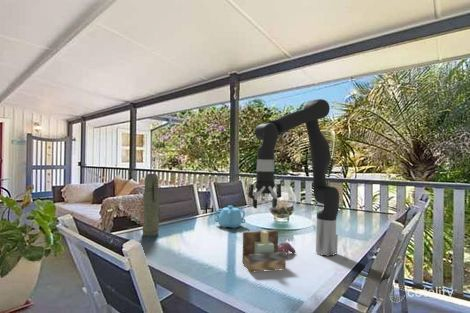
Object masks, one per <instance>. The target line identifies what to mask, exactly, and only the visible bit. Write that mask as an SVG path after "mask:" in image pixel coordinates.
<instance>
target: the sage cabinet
mask: <svg viewBox="0 0 470 313" xmlns="http://www.w3.org/2000/svg"><path fill="white" fill-rule="evenodd" d="M260 231H261V239H260V242H255V247H254V254H260V253H273V252H274V244H273V243H272V242H270V241H268V232H267V231H268V230H265V229H264V230H262V229H261V230H260Z"/></svg>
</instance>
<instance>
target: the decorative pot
mask: <svg viewBox="0 0 470 313" xmlns="http://www.w3.org/2000/svg"><path fill="white" fill-rule="evenodd" d="M218 211H220V212H219V214H218ZM241 212H242V214H243V215H242V214H241ZM215 215H216V218H214V221H215V222H217V223H218V224H219V226H220V227H222V229H223V228H224V229H226V228H231V229H237V228H238V227H240V226H241V225H242V224H245V223H246V219H245V215H246V212H245V211H244V210H243V209H239V208H237V207H234V206H233V205H227V207H223V208H217V209H216V210H215Z"/></svg>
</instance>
